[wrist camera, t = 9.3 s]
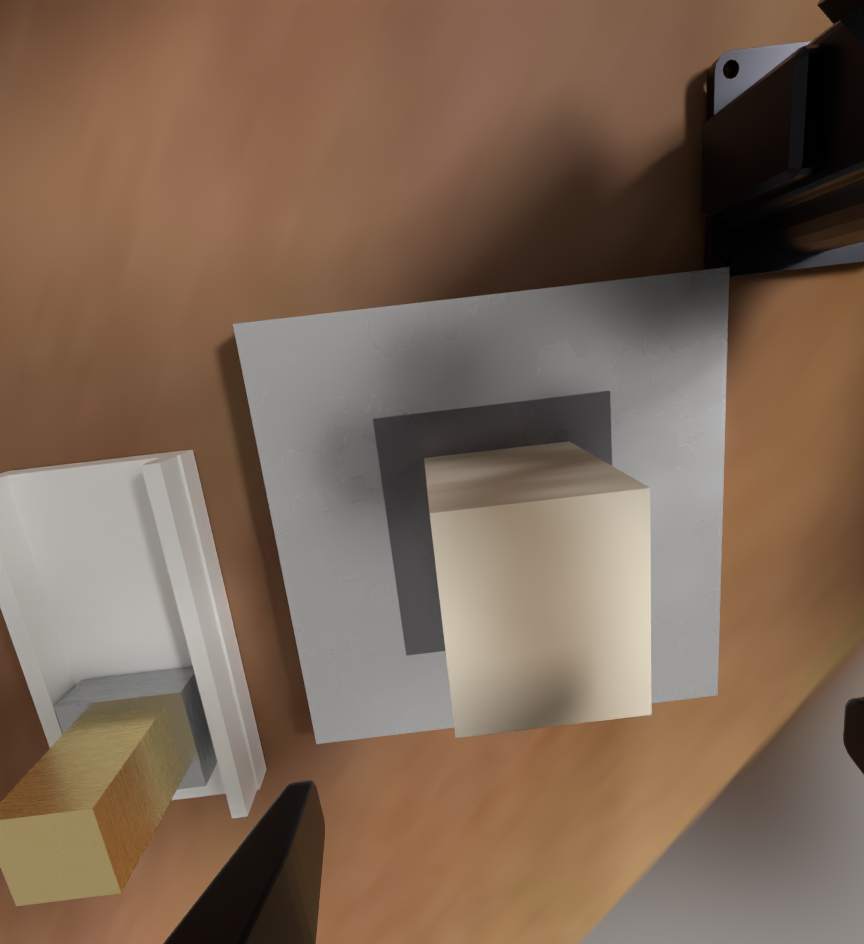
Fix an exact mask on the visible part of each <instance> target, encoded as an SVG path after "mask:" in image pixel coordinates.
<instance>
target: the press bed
mask: <svg viewBox="0 0 864 944" xmlns="http://www.w3.org/2000/svg"><path fill="white" fill-rule="evenodd" d="M728 302H729V267H726V268H717V269H708V270H699V271H691V272H682V273H673V274H665V275H656V276H647V277H638V278H630V279H621V280H612V281H604V282H595V283H586V284H578V285H569V286H560V287H551V288H543V289H534V290H525V291H517V292H508V293H499V294H490V295H482V296H473V297H464V298H456V299H447V300H438V301H430V302H421V303H412V304H403V305H395V306H386V307H377V308H369V309H360V310H351V311H342V312H334V313H325V314H316V315H308V316H299V317H290V318H281V319H273V320H264V321H255V322H247V323H238V324H233V328H234V333H235V338H236V343H237V348H238V353H239V358H240V363H241V368H242V373H243V378H244V383H245V388H246V393H247V398H248V403H249V408H250V413H251V418H252V423H253V428H254V433H255V438H256V443H257V448H258V453H259V458H260V463H261V468H262V473H263V478H264V483H265V488H266V493H267V498H268V503H269V508H270V513H271V518H272V523H273V528H274V534H275V539H276V544H277V549H278V554H279V559H280V564H281V569H282V574H283V579H284V584H285V589H286V594H287V599H288V604H289V609H290V614H291V619H292V624H293V629H294V634H295V639H296V644H297V649H298V654H299V659H300V664H301V669H302V674H303V679H304V684H305V689H306V694H307V699H308V704H309V709H310V714H311V719H312V724H313V729H314V734H315V739H316V744H322V743H330V742H339V741H347V740H355V739H363V738H371V737H380V736H388V735H396V734H404V733H412V732H421V731H429V730H437V729H445V728H453V727H454V719H453V711H452V702H451V694H450V685H449V676H448V668H447V659H446V651H445V642H444V633H443V625H442V616H441V608H440V599H439V590H438V582H437V573H436V565H435V556H434V547H433V539H432V530H431V522H430V513H429V503H428V492H427V482H426V472H425V462H424V458H429V457H438V456H446V455H455V454H464V453H472V452H481V451H490V450H499V449H507V448H516V447H525V446H533V445H542V444H551V443H560V442H568V441H570V442H571V443H573V444H575V445H576V446H578V447H580V448H582V449H583V450H585V451H587V452H589V453H590V454H592V455H594V456H596V457H597V458H599V459H601V460H603V461H604V462H606V463H608V464H610V465H611V466H613V467H615V468H617V469H618V470H620V471H622V472H623V473H625V474H627V475H629V476H630V477H632V478H634V479H636V480H637V481H639V482H641V483H643V484H644V485H646V486H648V487H650V533H651V703H658V702H666V701H675V700H683V699H691V698H699V697H707V696H716V695H718V659H719V624H720V588H721V552H722V517H723V481H724V445H725V409H726V374H727V338H728Z"/></svg>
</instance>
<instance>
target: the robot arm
mask: <svg viewBox="0 0 864 944" xmlns="http://www.w3.org/2000/svg"><path fill="white" fill-rule="evenodd" d="M818 6H819V7H820V9H821V10H822V11H823V12H824V13H825V14H826V16H827V17H828V18H829V19H830V20H831V21H832V23H833V25H832V26H831V27H830V28H828V29H827V30H826V31H824V32H823V33H822V34H821V35H819V36H818V37H817V38H815V39H814V40H813V41H810V42H801V43H792V44H783V45H774V46H765V47H756V48H747V49H738V50H731V51H728V52H725V53H724V54H723V55H722V56H721V57H720V58H718V59H717V60H716V61H715V62H714V63H713V64H712V66H711V68H710V69H709V72H708V77H707V123H706V124H705V126H704V127H703V130H702V190H701V210H702V212H703V213H704V214H705V251H704V266H705V270H708V269H717V268H721V267H720V266H719V263H718V261H719V258H720V256H724V257H725V258H726V266H725V267H724V268H726V267H729V278H730V277H739V276H747V275H756V274H765V273H774V272H782V271H791V270H800V269H808V268H817V267H826V266H834V265H843V264H852V263H860V262H864V0H820V1H819V3H818ZM723 67H727V68H728V69H729V70H730V71H731V79H728V78H726V77H725V76H724V74H723ZM843 741H844V745H845V748H846V750H847V752H848V754H849V756H850V757H851V758H852V759H853V761H854V762H855V764H856V765H857V766H858V768H859V769H860V770H861V772H862V773H863V774H864V697H860V698H853V699H850V700H848V702H847V703H846V705H845V717H844V733H843ZM324 838H325V823H324V817H323V813H322V808H321V804H320V800H319V796H318V792H317V788H316V785H315V783H314V782H313V781H311V780H308V781H302V782H295V783H291V784H289V785H288V786H287V787H286V788H285V789H284V790H283V792H282V793H281V794H280V795H279V797H278V798H277V799H276V801H275V802H274V803H273V804H272V806H271V807H270V808H269V809H268V811H267V812H266V813H265V815H264V816H263V817H262V818H261V820H260V821H259V822H258V823H257V825H256V826H255V827H254V829H253V830H252V831H251V832H250V834H249V835H248V836H247V838H246V839H245V840H244V841H243V843H242V844H241V845H240V846H239V848H238V849H237V850H236V852H235V853H234V854H233V855H232V857H231V858H230V859H229V861H228V862H227V863H226V864H225V866H224V867H223V868H222V869H221V871H220V872H219V873H218V875H217V876H216V877H215V878H214V880H213V881H212V882H211V884H210V885H209V886H208V887H207V889H206V890H205V891H204V892H203V894H202V895H201V896H200V898H199V899H198V900H197V901H196V903H195V904H194V905H193V907H192V908H191V909H190V910H189V912H188V913H187V914H186V915H185V917H184V918H183V919H182V921H181V922H180V923H179V924H178V926H177V927H176V928H175V929H174V931H173V932H172V933H171V935H170V936H169V937H168V938H167V940H166V941H165V942H164V944H315V943H316V932H317V921H318V910H319V898H320V886H321V874H322V862H323V850H324Z"/></svg>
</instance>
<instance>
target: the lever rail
mask: <svg viewBox="0 0 864 944" xmlns="http://www.w3.org/2000/svg"><path fill="white" fill-rule="evenodd" d="M0 608H1V611H2V613H3V616H4V619H5V622H6V625H7V628H8V631H9V633H10V636H11V639H12V642H13V645H14V648H15V650H16V653H17V656H18V659H19V662H20V665H21V668H22V670H23V673H24V676H25V679H26V682H27V685H28V687H29V690H30V693H31V696H32V699H33V702H34V704H35V707H36V710H37V713H38V716H39V719H40V722H41V724H42V727H43V730H44V733H45V736H46V739H47V741H48V744H49V747H50V748H51V747H52V745H53V744H54V743H55V742H56V741H57V740H58V739H59V738H60V737H61V736H62V735H63V732H62V729H61V726H60V723H59V720H58V717H57V714H56V711H55V708H54V707H55V706H56V705H57V704H58V703H59V702H60V701H61V700H62V699H63V698H64V697H65V696H66V695H67V694H68V693H69V692H70V691H71V690H72V689H73V688H74V687H75V686H76V685H77V684H78V683H79V682H80V681H81V680H84V679H92V678H101V677H109V676H117V675H126V674H134V673H142V672H150V671H159V670H167V669H175V668H184V667H192V666H193V669H194V673H195V677H196V681H197V685H198V688H199V692H200V696H201V700H202V704H203V708H204V712H205V716H206V719H207V723H208V727H209V731H210V735H211V739H212V743H213V747H214V750H215V754H216V758H217V764H216V766H215V768H214V770H213V773H212V775H211V777H210V779H209V781H208V783H207V785H206V786H202V787H194V788H186V789H178V790H177V791H176V793H175V794H174V796H173V798H172V800H178V799H186V798H195V797H203V796H211V795H219V794H226V797H227V801H228V805H229V808H230V812H231V816H232V818H240V817H248V814H249V811H250V809H251V806H252V803H253V800H254V797H255V795H256V792H257V790H260V787H261V784H262V781H263V779H264V776H265V773H266V770H267V769H266V764H265V760H264V756H263V751H262V747H261V743H260V738H259V734H258V730H257V725H256V721H255V717H254V712H253V708H252V704H251V699H250V695H249V691H248V686H247V682H246V678H245V673H244V669H243V665H242V661H241V656H240V652H239V648H238V643H237V639H236V635H235V630H234V626H233V622H232V617H231V613H230V609H229V604H228V600H227V596H226V591H225V587H224V583H223V578H222V574H221V570H220V565H219V561H218V557H217V552H216V548H215V544H214V539H213V535H212V531H211V526H210V522H209V518H208V513H207V509H206V505H205V500H204V496H203V492H202V487H201V483H200V479H199V474H198V470H197V466H196V461H195V457H194V453H193V449H192V450H184V451H175V452H167V453H158V454H149V455H141V456H132V457H124V458H115V459H107V460H98V461H90V462H81V463H72V464H64V465H55V466H47V467H38V468H30V469H21V470H13V471H7V472H4V473H1V474H0Z"/></svg>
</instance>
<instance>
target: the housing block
mask: <svg viewBox="0 0 864 944" xmlns="http://www.w3.org/2000/svg"><path fill="white" fill-rule="evenodd" d="M424 462H425V472H426V482H427V492H428V503H429V513H430V522H431V530H432V539H433V547H434V556H435V565H436V573H437V582H438V590H439V599H440V608H441V616H442V625H443V633H444V642H445V651H446V659H447V668H448V676H449V685H450V694H451V702H452V711H453V719H454V728H455V737H456V738H460V737H468V736H477V735H485V734H493V733H502V732H510V731H518V730H527V729H535V728H543V727H552V726H560V725H568V724H577V723H585V722H593V721H602V720H610V719H619V718H627V717H635V716H644V715H651V533H650V487H648V486H646V485H644V484H643V483H641V482H639V481H637V480H636V479H634V478H632V477H630V476H629V475H627V474H625V473H623V472H622V471H620V470H618V469H617V468H615V467H613V466H611V465H610V464H608V463H606V462H604V461H603V460H601V459H599V458H597V457H596V456H594V455H592V454H590V453H589V452H587V451H585V450H583V449H582V448H580V447H578V446H576V445H575V444H573V443H571V442H570V441H568V442H560V443H551V444H542V445H533V446H525V447H516V448H507V449H499V450H490V451H481V452H472V453H464V454H455V455H446V456H438V457H429V458H424Z"/></svg>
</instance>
